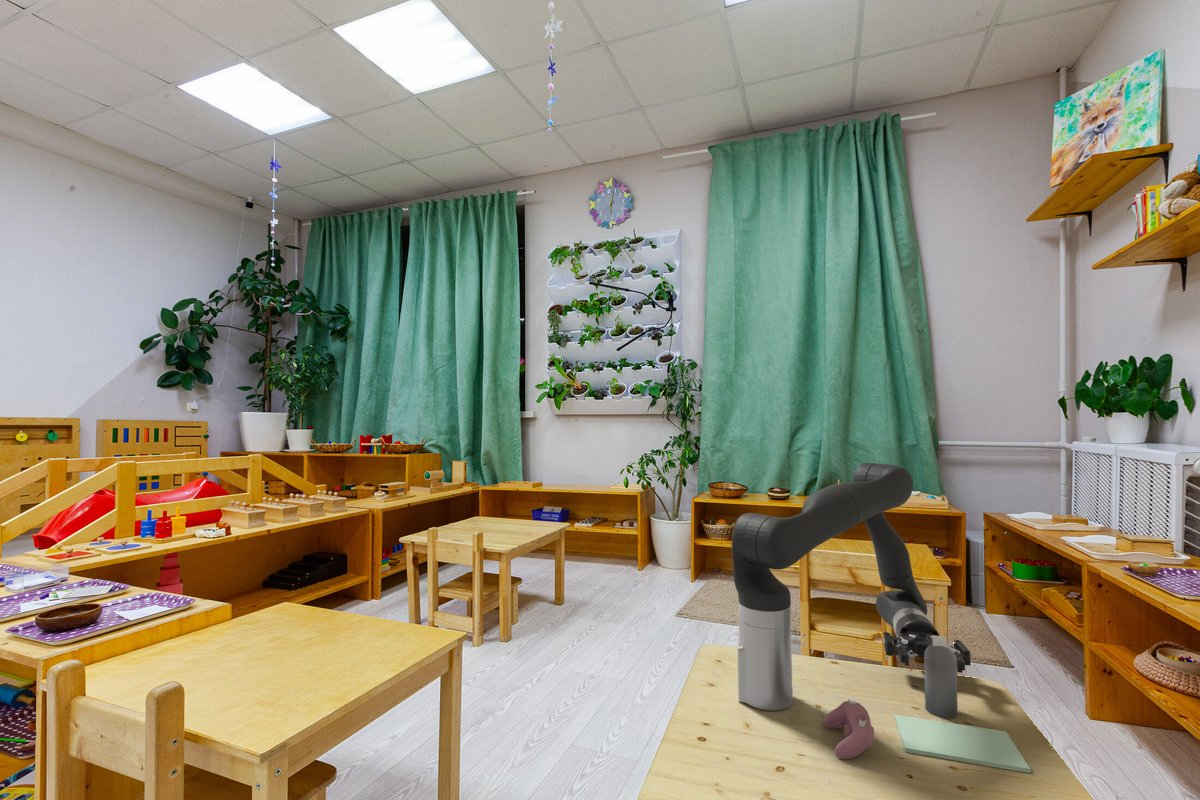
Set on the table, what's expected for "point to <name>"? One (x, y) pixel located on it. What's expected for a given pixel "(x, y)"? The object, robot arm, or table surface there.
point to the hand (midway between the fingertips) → (933, 663)
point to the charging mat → (960, 743)
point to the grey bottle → (940, 679)
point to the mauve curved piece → (851, 728)
